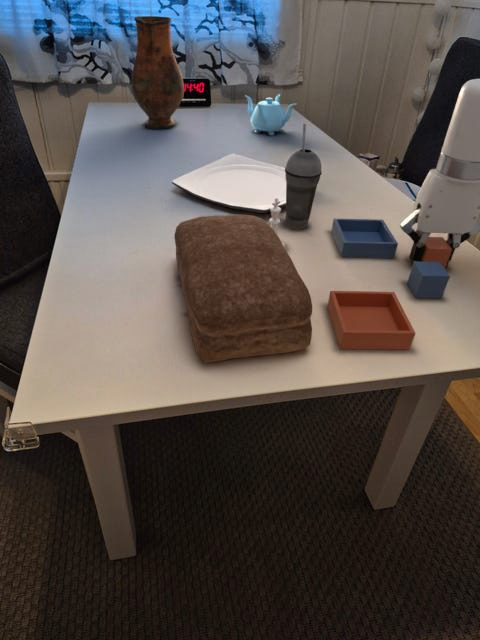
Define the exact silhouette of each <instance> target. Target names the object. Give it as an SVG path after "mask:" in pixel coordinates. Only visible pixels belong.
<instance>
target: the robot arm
mask: <svg viewBox="0 0 480 640" xmlns="http://www.w3.org/2000/svg"><path fill="white" fill-rule="evenodd" d="M479 215H480V78H473V79H470V80H467V81H466V82H465V83H463V84H462V86H461V88H460V91H459V93H458V96H457V99H456V103H455V105H454V109H453V112H452V115H451V119H450V122H449V125H448V128H447V131H446V135H445V137H444V140H443V144H442V146H441V151H440V153H439V157H438V160H437V164H436V167H435V168H431V169H429V172H428V173H427V175H426V177H425V179H424V180H423V182H422V185H421V186H420V189H419V191H418V193H417V195H416V198H415V200H414V203H413V206H412V210H411V212H410V214H409V216H408V217H406V218H405V219H404V220H403V221H402V222H401V223H400V224H399V227H400V229H401V230H402V232H404V234H406V235H407V236H409V237H410V239H411V240H412V242H413V243H412V246H411V249H410V253H409V259H410V261H411V263H412V264H413V263H414V261H415V262H421V260H422V257H423V254H424V251H425V248H424V244H425V242H426V240H427V239H428V237H430V236H431V234H447V239H444V240H445V241H446V242H447V243H448V245H449V246H450V247H451V248H452V251H451V254H450V256H449V259H448V262H447V264H446V267H445V268H448V266H449V263H450V262H451V260H452V258H453V257H454V253H455V250H456V249H459V248H460V247H461V244H462V243H464V242H465V241H467V240H469V239H470V238H471V237H473V236H474V235H477V234H479V233H480V221H479ZM414 225H417V226H416V230H415V229H414V228H413V226H414Z"/></svg>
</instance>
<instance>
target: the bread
mask: <svg viewBox="0 0 480 640" xmlns="http://www.w3.org/2000/svg"><path fill="white" fill-rule="evenodd" d="M173 238H174V243H175V260H176V264H177V268H178V273H179V277H180V285H181V289H182V291H183V294H184V299H185V304H186V305H185V306H186V312H187V313H186V314H187V317H188V323H189V326H190V327H189V328H190V331H191V336H192V339H193V345H194V348H195V352H196V355H198V356H199V357H200V358H201V359H202V361H203V363H213V362H220V361H226V360H233V359H239V358H247V357H253V356H255V357H257V356H265V355H275V354H286V353H293V352H297V351H301V350H305V349H307V348H309V346H311V343H312V336H313V325H312V320H311V318H312V315H313V302H312V297H311V294H310V291H309V289H308V287H307V285H306V284H305V282H304V280H303V279H302V277H301V276H300V274H299V272H298V270H297V267H296V266H295V263H294V261H293V259H292V257H291V256H290V255H289V253H288V252H287V250H286V247H285V248H284V246H283V244H282V242H283V241H282V240H281V239H280V237H279V236H278V233H277V234H276V233H275V232H274V230H273V229H272V228H271V225H270V224H269V223H268V222H267V221H266V220H265V219H264V218H262V217H259V216H256V215H252V214H244V213H243V214H241V213H240V214H229V215H228V214H226V215H206V216H205V215H201V216H198V217H194V218H191V219H186V220H184V221H181V222H180V223H179V224H177V225H176V227H175V231H174V237H173ZM281 241H282V242H281Z"/></svg>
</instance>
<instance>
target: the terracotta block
mask: <svg viewBox="0 0 480 640" xmlns="http://www.w3.org/2000/svg"><path fill="white" fill-rule="evenodd" d="M445 240H446V239H445V238H444V237H442V236H429V237H428V239H427V240H426V242H425V244H424V248H425V251H424V254H423V257H422V260H421V262H440V263H441V264H442V266H443V267H444V268H445V269H446V268H447V267H446V264H447V262H448V259H449V256H450V254H451V251H452V248H451V247H450V246H449V245H448V243H447V242H446V241H445Z"/></svg>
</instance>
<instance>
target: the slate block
mask: <svg viewBox="0 0 480 640" xmlns="http://www.w3.org/2000/svg"><path fill="white" fill-rule="evenodd" d="M450 278H451V275H450V274H449V272H448V271H447V269H446V267H445V268H444V267H443V266H442V264H441V263H440V262H415V261H414V263H413V262H412V266H411V269H410V273H409V276H408V278H407V282H406V285H407V287H408V288H409V290H410V291H411V293H412V295H413V297H414V299H431V300H432V299H436V300H439V299H440V300H441V299H442V298H443V295H444V293H445V291H446V288H447V285H448V283H449V281H450Z"/></svg>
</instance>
